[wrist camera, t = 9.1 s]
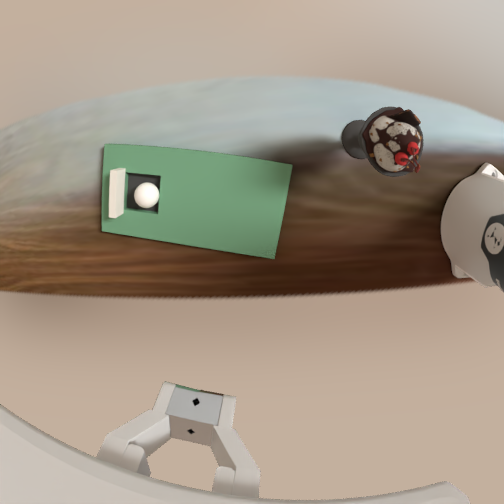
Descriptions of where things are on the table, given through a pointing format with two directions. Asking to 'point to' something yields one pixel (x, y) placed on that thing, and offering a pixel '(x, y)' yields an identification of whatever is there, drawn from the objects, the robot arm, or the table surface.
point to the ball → (146, 195)
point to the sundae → (387, 141)
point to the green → (196, 198)
